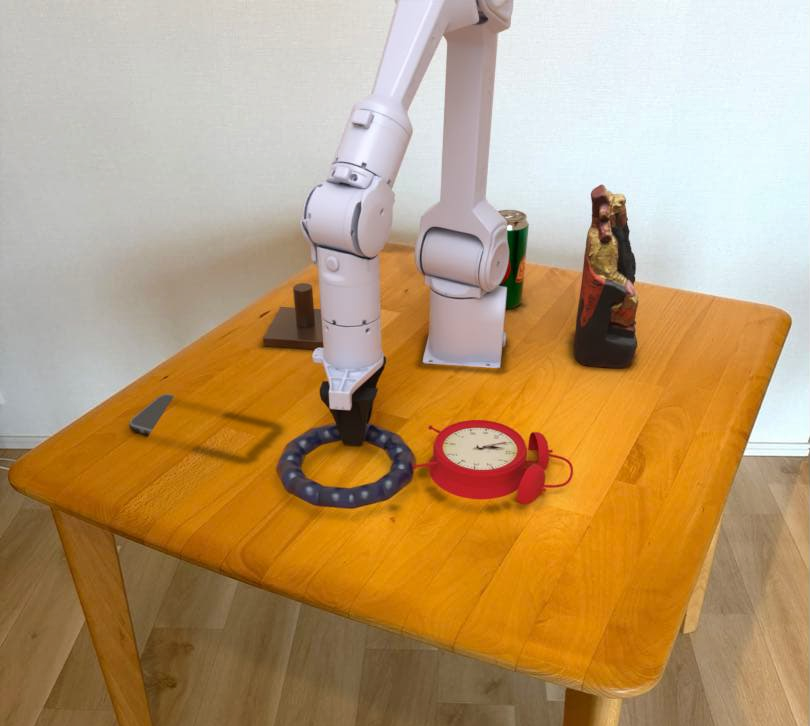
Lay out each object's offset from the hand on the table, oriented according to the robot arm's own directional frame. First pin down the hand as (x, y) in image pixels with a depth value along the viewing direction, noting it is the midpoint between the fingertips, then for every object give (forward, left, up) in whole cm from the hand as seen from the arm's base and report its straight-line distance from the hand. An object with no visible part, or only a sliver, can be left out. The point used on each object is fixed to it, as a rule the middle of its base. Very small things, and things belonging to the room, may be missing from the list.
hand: (356, 432), depth 91 cm
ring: (0, +6, 0) cm, 6 cm away
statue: (-27, -25, -2) cm, 37 cm away
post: (+11, -24, -1) cm, 27 cm away
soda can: (-14, -36, -2) cm, 39 cm away
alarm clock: (-15, +5, -2) cm, 16 cm away
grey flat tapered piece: (+17, 0, -1) cm, 17 cm away
